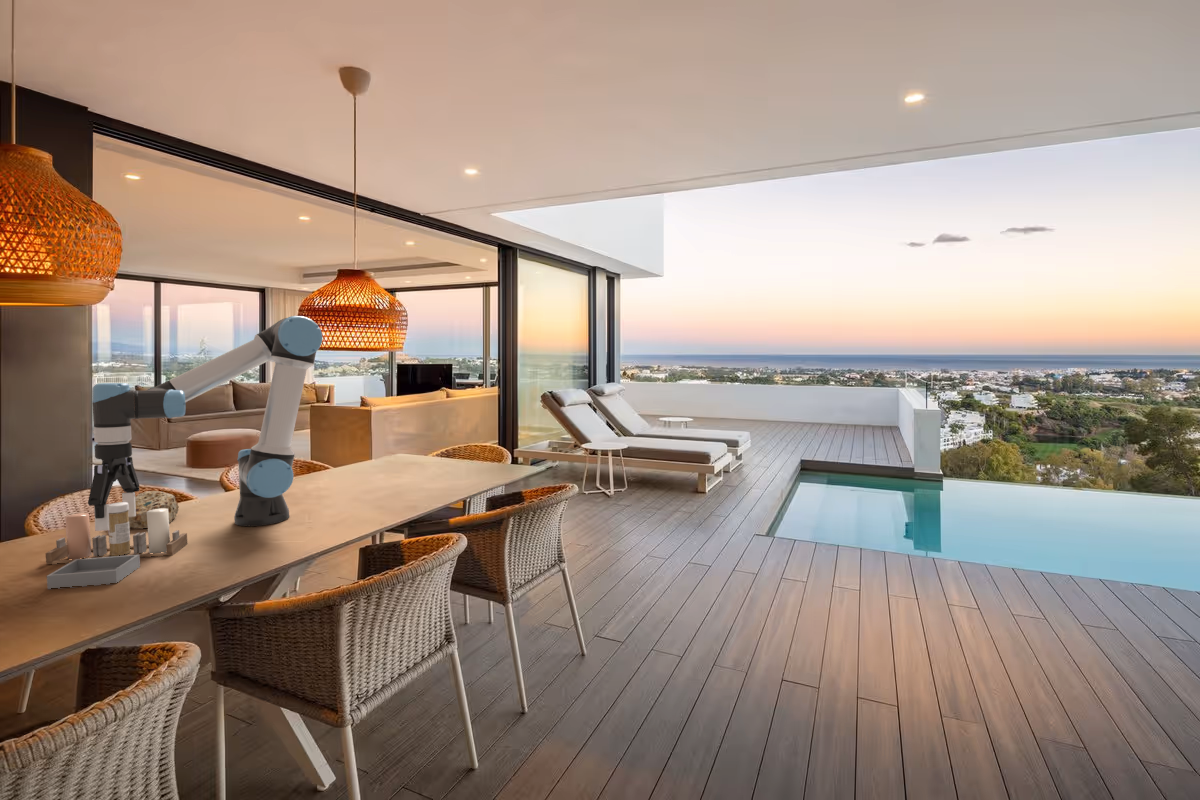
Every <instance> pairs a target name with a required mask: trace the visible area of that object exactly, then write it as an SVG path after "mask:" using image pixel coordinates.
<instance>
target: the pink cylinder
mask: <svg viewBox="0 0 1200 800" xmlns="http://www.w3.org/2000/svg"><path fill="white" fill-rule="evenodd" d="M64 518H65V532H66V542H67V549H68V556H67V560H69V559H80V558H84V557H87V558H89V557H88V556H90V555H91V556H92V555H93V554H92V552H91V549H92V543H91V542H92V539H91V528H90V527H91V525H90V514H89V513H88V512H79V513H72V514H68V515H66V516H65V517H64ZM91 556H90V557H91ZM84 559H85V558H84Z"/></svg>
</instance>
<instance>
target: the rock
mask: <svg viewBox="0 0 1200 800" xmlns="http://www.w3.org/2000/svg"><path fill="white" fill-rule="evenodd" d="M135 504H136V516H133V517H129V529H133V528H134V529H143V528H148V524H147V511H149V510H153V509H161V508H166V509H168V514H169V523H171V522H172V521H173V520H175V518H177V514H178V513H179V510H180V508H179V507H180V506H179V503H178V502H177V501H176V496H175V495H174V494H171V493H168V492H164V491H159V490H148V491H144V492H141V493H138V494H137V495H135Z"/></svg>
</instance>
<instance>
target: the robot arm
mask: <svg viewBox="0 0 1200 800" xmlns="http://www.w3.org/2000/svg"><path fill="white" fill-rule="evenodd" d="M322 344H323V333H322V330H321V328H320V326H319V325H318V323H316V322H315V321H314V320H312V319H311V318H310V317H309V318H308V317H306V316H303V315H291V316H288V317H284V318H282V319H280V320H278V321H277V322H275V323H274V324H272V325H270V326H269V327H268V328H266V329H264V330H262V331H260V332H259V333H257V334H255V335H254V338H253V339H252V340H250V341H248V342H246V343H244V344H241V345H239V346H237V347H235V348H233V349H230V350H229V351H227V352H225V353H222V354H221V355H218V356H216V357H215V358H212V359H210V360H208V361H206V362H204V363H202V364H200V365H198V366H196V367H194V368H192V369H189V370H187V371H185V372H184V373H181V374H179V375H176V376H175V377H173V378H171V379H169V380H168V381H165V382H164V381H163V383H161V384H158V385H157V386H152V387H150V388H147V389H145V390H133V389H131V387H130V385H129V383H125V382H105V383H103V382H102V383H96V384H95V385H93V387H92V401H91V402H92V403H91V404H92V417H93V420H92V421H93V430H92V434H94V435H93V437H94V438H93V439H94V442H95V443H96V444H94V458H95V459H97V460H101V464H96V465H94V467H93V477H92V482H91V486H90V490H89V491H90V492H89V494H88V495H89V496H88V502H87V504H88V506H90V507H91V506H92V507H93V509H94V512H93V513H94V529H95V532H99V531H100V532H101V531H103V532H105V531H108V530H110V529H109V503H107V502H108V499H109V497H110V493H111V490H112V488H113V485H114V483H115V482H116V481H117V482H118V483H119V485H120V487H121V488H122V490H123V492H122V494H121V497H122V498H121V501H122V502H127V503H128V505H129V510H128V517H133V516H136V504H135V497H136V492H140V483H139V479H138V477H137V473H136V470H135V468H134V461H133V460H134V459H133V457H132V455H133V449H132V447H133V444H132V442H131V440H133V439H132V423H131V422H132V421H131V420H134V419H136V420H138V419H162V418H163V419H166V418H168V419H172V418H181V417H184V416H185V415H186V411H187V410H186V407H187V406H186V403H187V402H188V401H189V402H190V401H191V400H193V399H195V398H196V397H199V396H201V395H203V394H205V393H207V392H209V391H211V390H213V389H215V388H218V387H219V386H220V385H224V384H226V383H227V382H229V381H230V380H233V379H235V378H237V377H239V376H241V375H243V374H245V373H247V372H250V371H251V370H253V369H256V368H257V367H259V366H261V365H263V364H265V363H267V362H271V363H274V367H273V373H272V376H271V377H272V378H271V380H270V381H271V382H270V387H269V390H268V396H267V401H266V406H265V409H264V414H263V419H262V424H261V429H260V433H259V438H258V441H257V443H256V444H254V445H253V446H252V447H251V448H246V449H240V450H239V451H238V454H237V459H236V461H237V462H238V481H239V482H238V483H239V484H238V485H239V499H238V504H237V507H236V510H235V513H234V516H233V517H234V520H233V521H234V524H235V525H236V526H239V527H257V526H258V527H259V526H268V525H274V524H278V523H280V522H283V521H285V520H288V519H289V518H290V510H289V507H288V504H287V502H286V499H285V496H284V494H285V493H286V492H287V491H288V490H289V489H290V487H291V486H292V484H293V481H294V469H293V465H294V460H295V455H296V454H295V451H294V450H293V449H292V447H291V446H292V441H293V436H294V433H295V432H294V431H295V426H296V422H297V418H298V414H299V413H298V412H299V408H300V403H301V398H302V395H303V390H304V386H305V385H304V384H305V380H306V375H307V371H308V369H310V368H312V366H314V364H315V359H316V354H317V351H319V349H320V348H321V345H322Z"/></svg>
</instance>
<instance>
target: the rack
mask: <svg viewBox="0 0 1200 800" xmlns="http://www.w3.org/2000/svg"><path fill="white" fill-rule="evenodd" d="M171 537H172V540H170V542H169V543H168V544H166V548H167V552H164V553H153V554H150V553H146V552H147V551H148V550H147V549H148V548H147V547H149V544H147V533H146V531H145V532H136V533H135V534H133V535H132V542H133V543H132V544H133V545H130V548H134V549H133V555H138V554H139V553H143V552H144V553H143V554H139V555H140V557H145V558H152V557H151V556H158V557H164V556H163V555H172V556H174V555H175V554H176V553H178V552H179V551H180V550H181V549H183V548H184V547H186V546H187V545H188V533H187V532H183V533H181V534H180V530H178V529H176V530H174V531H173V532H172V536H171ZM91 542H92V547H91V551H93V552H92V553H93V554H92V555H93V557H94V556H97V557H98V558H100V557H99V556H102V557H104V556H105V555H104V554H106V553H107V554H108V551H107V550H109V551H110V547H109V546H107V535H106V534H103V535H99V534H98V535H95V536H94V537H93V538H92V539H91ZM55 545H56V547H55V548H53V549H50V550H49V551H47V552H45V563H46V564H52V565H58V564H57V563H65V564H68V563H69V562H72V561H74V560H76V559H72V560H69V559H65V558H67V557H68V549H67V541H66V537H61V538H59V539H57V540H56V541H55ZM146 550H147V551H146ZM137 553H138V554H137ZM107 554H106V555H107ZM173 554H174V555H173ZM98 555H99V556H98ZM103 555H104V556H103ZM127 555H128V554H125V556H127ZM66 556H67V557H66ZM64 557H65V558H64ZM62 558H63V559H62ZM60 559H61V560H60ZM84 559H86V558H84Z"/></svg>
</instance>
